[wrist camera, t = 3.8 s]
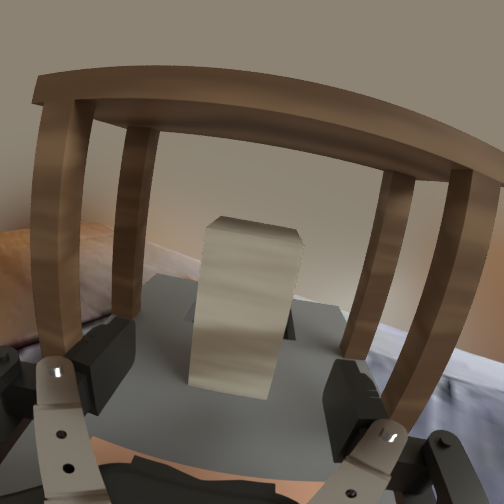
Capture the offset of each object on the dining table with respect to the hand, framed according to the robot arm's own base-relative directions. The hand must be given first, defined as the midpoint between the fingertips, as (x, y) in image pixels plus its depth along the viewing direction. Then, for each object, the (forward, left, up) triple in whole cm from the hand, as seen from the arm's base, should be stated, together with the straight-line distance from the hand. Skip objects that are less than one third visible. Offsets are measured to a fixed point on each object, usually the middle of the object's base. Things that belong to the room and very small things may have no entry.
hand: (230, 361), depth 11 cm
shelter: (-4, +7, -6) cm, 10 cm away
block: (-4, +7, -6) cm, 10 cm away
